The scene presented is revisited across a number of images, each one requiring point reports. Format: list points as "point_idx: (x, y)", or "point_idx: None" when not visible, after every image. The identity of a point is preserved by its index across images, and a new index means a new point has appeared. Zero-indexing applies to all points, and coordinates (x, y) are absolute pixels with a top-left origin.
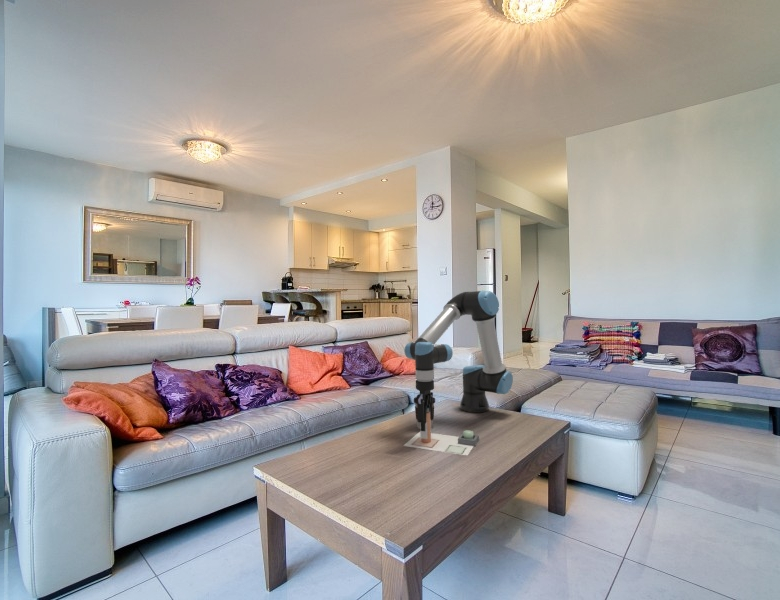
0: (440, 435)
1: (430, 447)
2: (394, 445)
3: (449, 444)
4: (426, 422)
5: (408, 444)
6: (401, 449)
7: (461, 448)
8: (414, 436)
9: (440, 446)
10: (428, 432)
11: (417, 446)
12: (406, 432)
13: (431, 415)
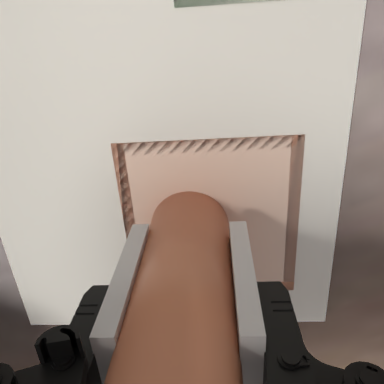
0: (4, 175)
1: (303, 150)
2: None
3: (158, 18)
4: (242, 343)
5: (293, 303)
6: (373, 310)
7: None
8: None
9: (245, 81)
10: (212, 246)
11: (309, 243)
12: None
13: (14, 378)
